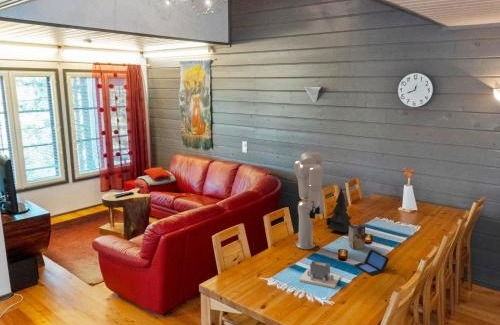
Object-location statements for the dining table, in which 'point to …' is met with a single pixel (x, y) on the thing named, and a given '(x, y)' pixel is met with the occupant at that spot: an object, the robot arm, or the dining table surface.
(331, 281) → the pin tray
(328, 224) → the film camera
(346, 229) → the decorative tree
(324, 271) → the block
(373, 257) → the handheld game console
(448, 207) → the dining table surface
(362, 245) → the coffee box
